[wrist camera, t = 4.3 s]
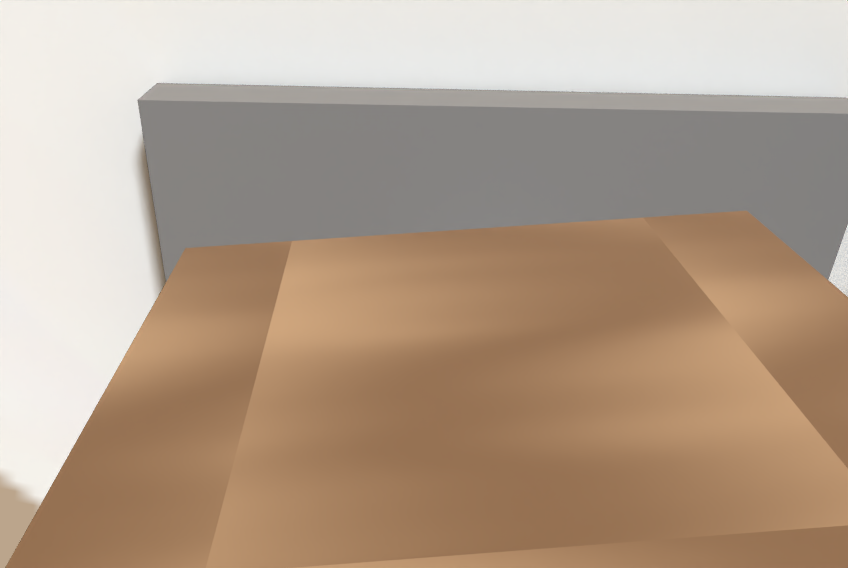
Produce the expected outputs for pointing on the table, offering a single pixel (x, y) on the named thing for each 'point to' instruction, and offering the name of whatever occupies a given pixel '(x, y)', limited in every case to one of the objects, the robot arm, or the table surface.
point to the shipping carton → (472, 407)
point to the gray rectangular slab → (484, 162)
